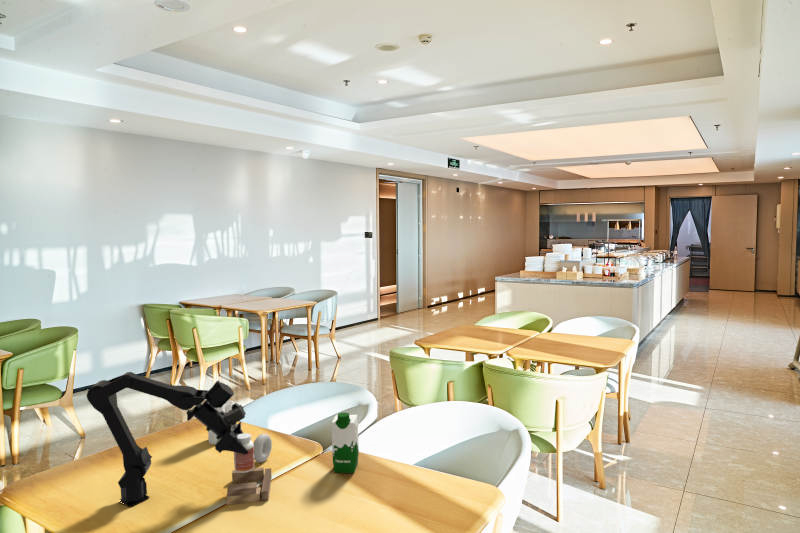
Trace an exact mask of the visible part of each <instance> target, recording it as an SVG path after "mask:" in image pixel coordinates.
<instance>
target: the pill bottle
mask: <svg viewBox="0 0 800 533" xmlns="http://www.w3.org/2000/svg"><path fill="white" fill-rule="evenodd" d="M238 440H239V441H240V443H241V444H242V445H243V446H244V447H245V448H246V449H247V451H248V453H247V454H246V455H245V454H241V453H237V452H233V457H234V458H233V462H234V464H233V465H234V470H235V471H236V472H239V473H246V472H249V471H251V470H253V469H254V468H255V460H254V444H253V443H254V441H252V435H251V433H247V432H243V434H239V435H238Z"/></svg>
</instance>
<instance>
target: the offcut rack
mask: <svg viewBox="0 0 800 533" xmlns="http://www.w3.org/2000/svg"><path fill="white" fill-rule="evenodd" d="M272 476H273V475H272V468H271V467H269V468H264V467H256V468H255V467H254V469H253V470H251V471H249V472H246V473H239V472H236V471H235V469H232V472H231V479H232V480H231V481H232V482H231V484H228V486H227V490H226V495H225V504H226V505H235V504H237V505H238V504H246V503H257V502H265V501H266V502H267V501H269V500H270V491H271V490H270V489H271V485H272V484H271V483H272ZM246 481H251V482H246ZM259 481H262V486H261V487H259V486H258V483H257V482H259ZM236 482H240V483H236Z"/></svg>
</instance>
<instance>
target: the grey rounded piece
mask: <svg viewBox="0 0 800 533" xmlns="http://www.w3.org/2000/svg"><path fill="white" fill-rule="evenodd" d="M253 444H254V462H256V463H263V462H265V461H266V460H267V459H268V458H269V457H270V454H271V451H272V446H273V444H272V438H271V436H270V435H269V434H268V433H261V434H259V435H257V437H256V438H255V439H254V441H253Z"/></svg>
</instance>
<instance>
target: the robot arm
mask: <svg viewBox="0 0 800 533" xmlns="http://www.w3.org/2000/svg"><path fill="white" fill-rule="evenodd" d="M125 389H130V390H132V391H136V392H139V393H143V394H147V395H150V396H153V397H155V398H158V399H163V400H165V401H167V402H168V403H169V404H171V406H174V407H175V408H178V409H180V410H182V411H186V416H187V418H186V421H187V422H190V420H192V418H195V419H196V420H198V421H199V422H200V423H202V425H204V426H205V428H206V429H205V430H206V431H207V432H208V431H209V430H211V431H212V432H213V433H214V434H216V435H217V436H216V438H217V439H218V440H217V442H216V444H214V449H215V450H216V451H217V452H218V453H219V454H221V453H222V452H225V451H227V452H233V453H234V452H237V453H241V454H245V455H246V454H247V453H248V451H247V449H246V448H245V447H244V446H243V445H242V444H241V443H240V441H239V440H238V435H239V434H243V433H244V432H243V430H242V421H241V420H243V419H245V418H246V414H247V413H246V412H245V410H244V408H245V407H244V406H243V405H242V404H238V403H237V402H234V403H233V405H232V410H230V411H229V412H227V413H225V412H223V411H221V412H219V411H218V410H216V409H215V408H218V407H219V408H221V407H222V406H223V405H224V404H225V403H226V402H227V401H230V399H231V398H232V397H233V396H234V395H235V392H234V390H233V388H231V386H229V385H228V384H225V383H224V382H221V381H220V380H216V381H215V382H214V384H213V385H212V386H211V387H210V389H209V390H208V389H206V390H205V389H197V388H195V387H193V386H188V385H172V384H168V383H164V382H162V381H159V380H156V379H153V378H149V377H145V376H142V375H139V374H137V373H135V372H132V371H127V372H125V373H123V374H121V375H119V376H118V375H117V376H116V377H113V378H112V379H109V380H106V379H103V380H99V381H98V382H97V383H95V384H93V386H91V387H90V388H89V389H88V390H87V393H86V399H87V401H88V403H89V404H90V405H91V406H92V408H93V409H94V410H96V411H97V412H99V413H100V414H101V415H102V417H103V419H104V421H105V423H106V425H107V427H108V428H109V430H110V432H111V434H112V436H113V438H114V440H115V442H116V444H117V446H118V448H119V450H120V452H121V454H122V461H123V463H122V464H123V468H124V472H123V475H122V476H121V477H120V479H119V480H118V482H117V484H118V486H119V489H120V499H119V500H121V501H120V502H122V503H124V504H126V505H128V506H127V507H129V506H132V505H134V504H136V505H138V504H140V503H142V502H144V501H146V500H148V499H150V496H149V495H148V489H147V481H146V478H145V476H146V474H147V472H148V470H149V469H150V468H151V465H152V458H153V456H152V455H151V454H150V453H149V450H148V448H147V446H145V447H143V448H141V447H140V446H139V445H138V444H137V442H136V440H135V438H134V436H133V433H131V430H130V428H129V426H128V424H127V422H126V420H125V418H124V416H123V413H122V412H121V410H120V408H119V406H118V395H117V393H119V392H121V391H123V390H125ZM237 422H238V423H237ZM147 498H148V499H147ZM145 499H146V500H145ZM143 500H144V501H143ZM141 501H142V502H141ZM139 502H140V503H139ZM122 503H121V504H122ZM137 503H138V504H137ZM124 504H123V505H124ZM126 505H125V506H126ZM134 506H135V505H134ZM132 507H133V506H132Z"/></svg>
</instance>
